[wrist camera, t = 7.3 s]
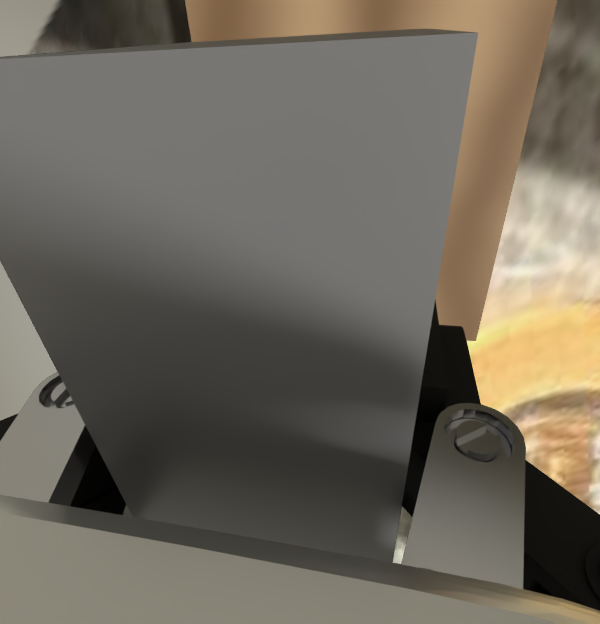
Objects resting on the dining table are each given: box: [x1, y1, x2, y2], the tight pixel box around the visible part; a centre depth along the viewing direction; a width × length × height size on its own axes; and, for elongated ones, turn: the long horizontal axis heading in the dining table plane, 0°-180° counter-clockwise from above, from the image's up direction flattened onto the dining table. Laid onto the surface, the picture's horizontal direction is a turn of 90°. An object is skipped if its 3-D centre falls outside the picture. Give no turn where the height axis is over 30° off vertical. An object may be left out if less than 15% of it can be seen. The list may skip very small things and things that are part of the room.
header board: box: [185, 0, 557, 341], centre depth 19 cm, size 14×16×6 cm
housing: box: [0, 28, 478, 563], centre depth 9 cm, size 5×12×6 cm, turn 3°
